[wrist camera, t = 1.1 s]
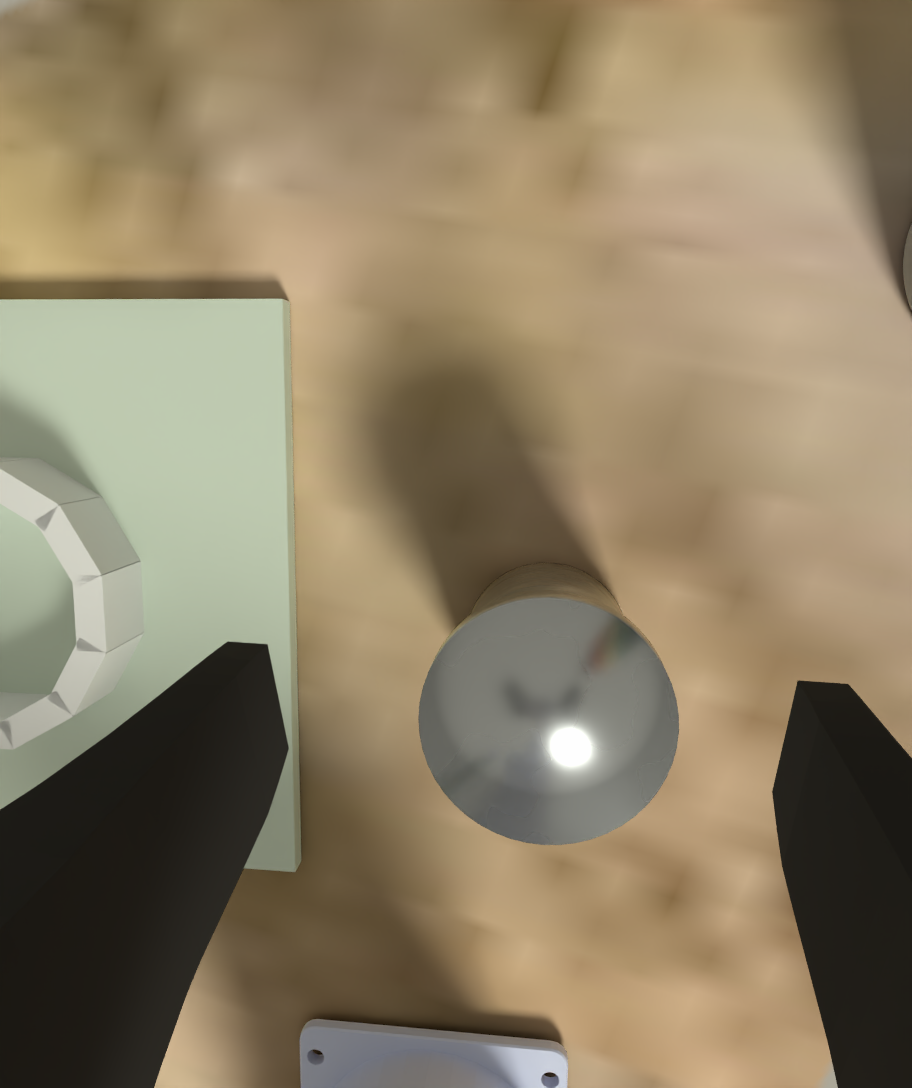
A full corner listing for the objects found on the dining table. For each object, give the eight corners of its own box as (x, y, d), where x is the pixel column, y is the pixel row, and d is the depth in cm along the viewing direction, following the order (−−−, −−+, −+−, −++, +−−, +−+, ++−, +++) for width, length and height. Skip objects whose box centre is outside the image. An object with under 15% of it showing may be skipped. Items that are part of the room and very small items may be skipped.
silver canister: (638, 737, 22) (671, 853, 16) (450, 727, 23) (417, 836, 17) (647, 551, 22) (686, 603, 16) (452, 545, 22) (418, 594, 16)
